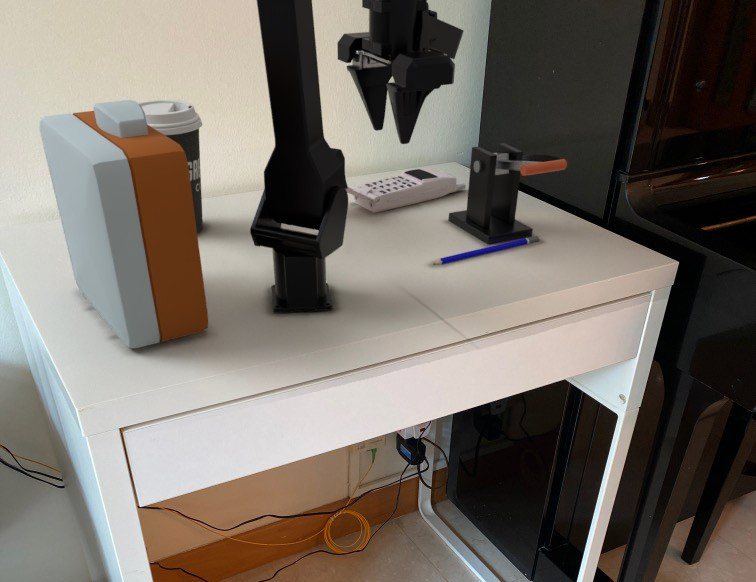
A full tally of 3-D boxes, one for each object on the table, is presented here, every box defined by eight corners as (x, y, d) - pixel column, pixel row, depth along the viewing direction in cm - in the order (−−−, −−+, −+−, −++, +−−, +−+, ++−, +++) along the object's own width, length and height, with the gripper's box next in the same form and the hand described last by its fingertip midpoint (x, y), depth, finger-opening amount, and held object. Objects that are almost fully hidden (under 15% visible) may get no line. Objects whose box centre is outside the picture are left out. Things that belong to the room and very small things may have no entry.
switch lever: (566, 175, 95) (567, 153, 94) (526, 181, 93) (526, 159, 92) (508, 170, 104) (508, 150, 103) (470, 176, 102) (470, 156, 101)
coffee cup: (192, 246, 101) (174, 119, 91) (127, 236, 103) (103, 111, 93) (226, 222, 108) (214, 102, 98) (165, 213, 110) (147, 95, 101)
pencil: (535, 241, 104) (536, 234, 104) (539, 243, 104) (540, 236, 103) (430, 266, 97) (431, 258, 97) (435, 269, 97) (435, 261, 96)
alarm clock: (213, 335, 82) (185, 120, 69) (130, 356, 78) (85, 133, 65) (150, 274, 94) (116, 81, 81) (76, 290, 90) (28, 90, 77)
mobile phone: (305, 170, 107) (445, 142, 119) (307, 213, 111) (442, 182, 123) (329, 182, 103) (472, 152, 115) (330, 226, 107) (468, 193, 119)
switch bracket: (531, 237, 105) (543, 156, 98) (487, 245, 102) (496, 162, 96) (490, 214, 112) (498, 136, 105) (448, 221, 109) (453, 142, 103)
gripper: (501, -6, 85) (486, 148, 94) (415, -24, 97) (410, 113, 107) (411, -1, 81) (406, 159, 90) (334, -21, 93) (336, 122, 103)
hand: (391, 136), depth 98 cm, fingers open, 7 cm apart
